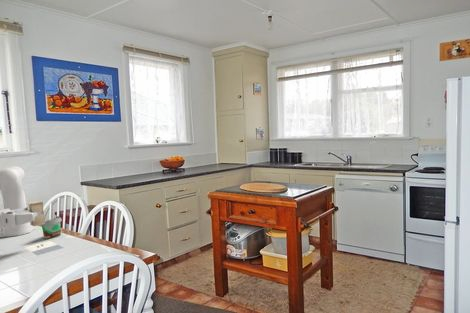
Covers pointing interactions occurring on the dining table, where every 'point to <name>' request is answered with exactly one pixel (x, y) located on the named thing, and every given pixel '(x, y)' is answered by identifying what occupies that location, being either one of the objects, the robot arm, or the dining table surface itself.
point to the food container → (52, 228)
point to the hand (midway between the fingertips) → (38, 212)
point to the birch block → (34, 208)
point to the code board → (44, 245)
